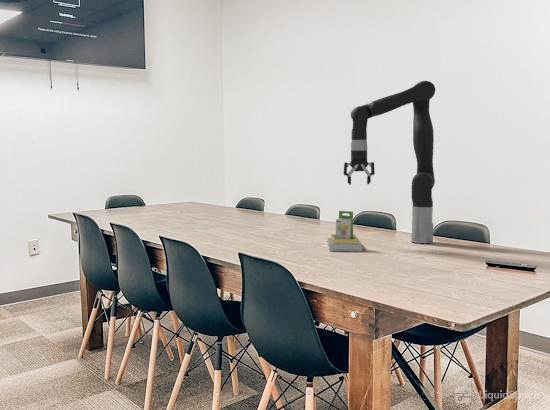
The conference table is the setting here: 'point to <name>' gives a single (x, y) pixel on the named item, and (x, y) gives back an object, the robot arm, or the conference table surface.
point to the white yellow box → (344, 244)
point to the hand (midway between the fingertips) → (359, 184)
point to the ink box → (344, 225)
